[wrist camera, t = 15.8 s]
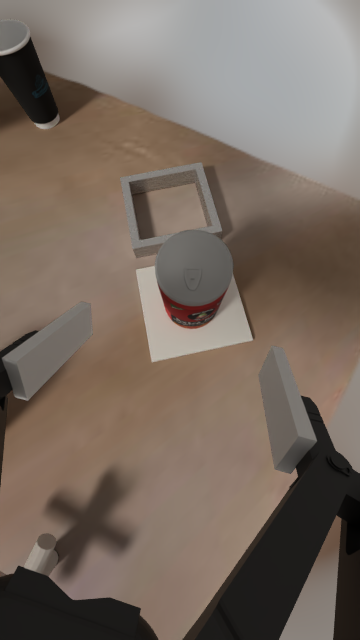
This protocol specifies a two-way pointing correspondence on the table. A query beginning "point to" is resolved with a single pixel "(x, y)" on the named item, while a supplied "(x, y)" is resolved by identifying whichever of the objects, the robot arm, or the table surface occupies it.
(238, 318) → the tile
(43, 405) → the table surface
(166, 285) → the canned food
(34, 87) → the dixie cup
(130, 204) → the square frame
